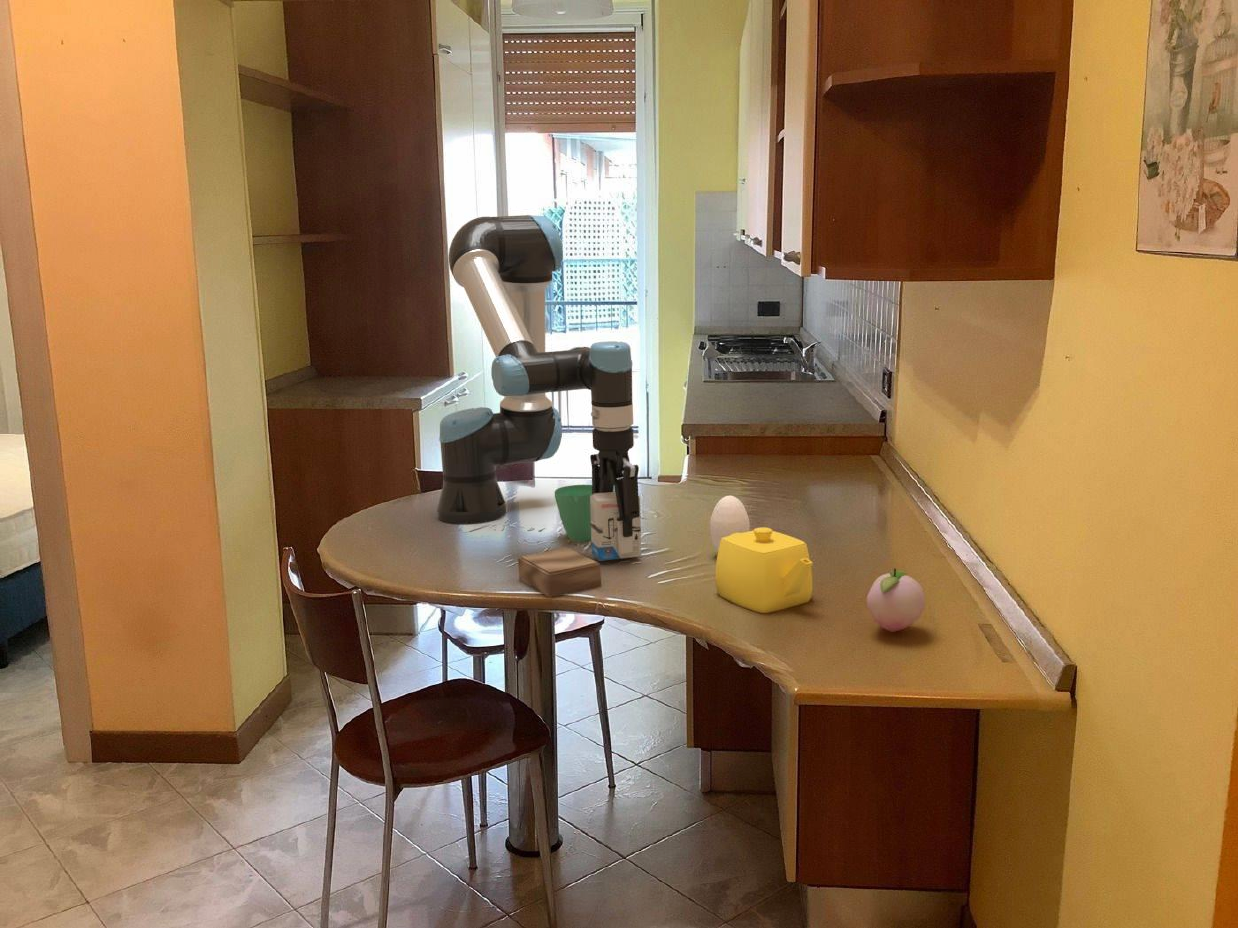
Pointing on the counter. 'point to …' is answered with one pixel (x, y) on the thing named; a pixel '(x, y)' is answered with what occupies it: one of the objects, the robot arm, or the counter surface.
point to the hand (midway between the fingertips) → (616, 547)
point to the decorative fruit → (896, 600)
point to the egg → (728, 519)
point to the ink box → (610, 528)
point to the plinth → (559, 572)
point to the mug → (575, 510)
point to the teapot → (763, 570)
